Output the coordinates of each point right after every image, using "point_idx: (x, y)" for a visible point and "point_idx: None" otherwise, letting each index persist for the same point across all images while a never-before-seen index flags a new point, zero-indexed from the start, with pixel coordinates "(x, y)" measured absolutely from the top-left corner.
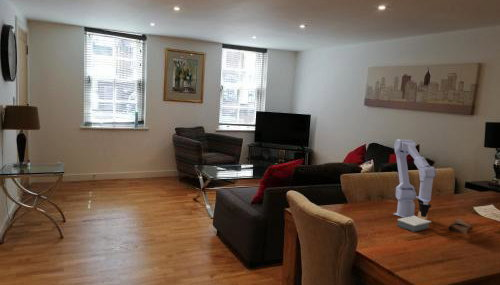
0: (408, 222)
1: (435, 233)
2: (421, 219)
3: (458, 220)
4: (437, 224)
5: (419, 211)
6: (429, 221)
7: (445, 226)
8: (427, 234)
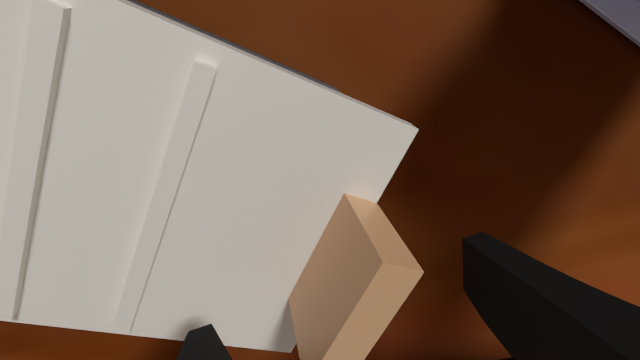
0: None
1: (139, 350)
2: (271, 259)
3: None
4: (459, 284)
5: (414, 271)
6: (260, 344)
7: (438, 333)
8: (4, 322)
